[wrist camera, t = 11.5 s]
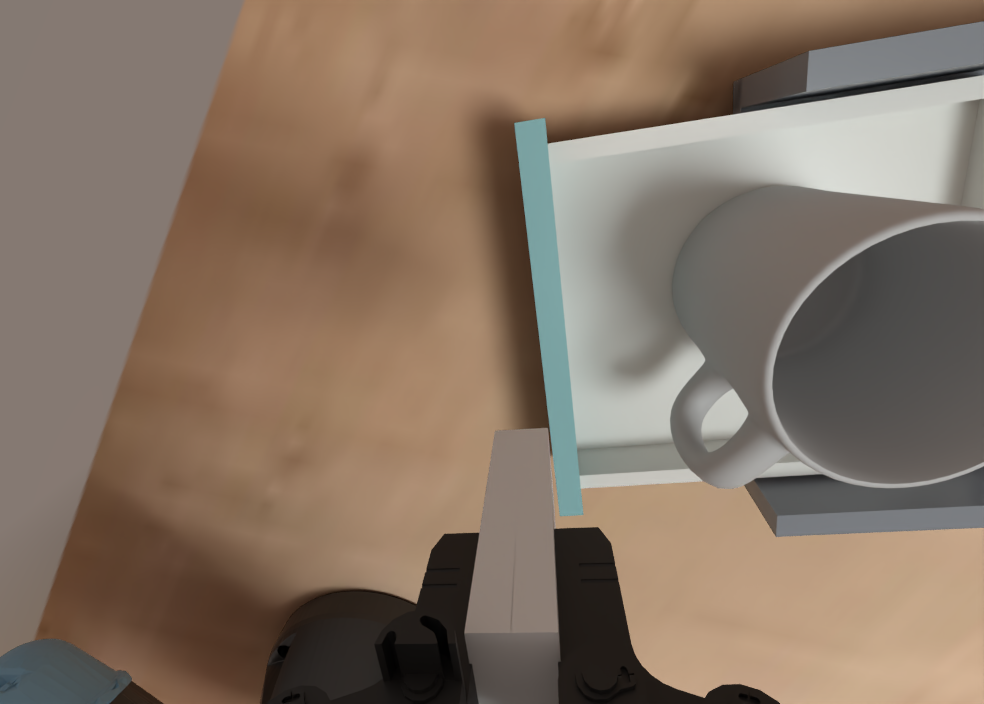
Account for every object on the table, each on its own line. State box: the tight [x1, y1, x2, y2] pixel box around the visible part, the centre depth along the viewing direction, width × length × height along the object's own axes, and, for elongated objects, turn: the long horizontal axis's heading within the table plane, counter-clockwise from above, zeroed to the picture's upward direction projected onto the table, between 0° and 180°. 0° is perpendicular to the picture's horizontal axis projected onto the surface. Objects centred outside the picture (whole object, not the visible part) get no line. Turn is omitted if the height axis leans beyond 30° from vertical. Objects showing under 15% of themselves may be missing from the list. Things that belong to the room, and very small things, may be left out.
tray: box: [514, 75, 984, 516], centre depth 23 cm, size 20×19×4 cm
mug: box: [670, 186, 984, 489], centre depth 20 cm, size 12×8×11 cm
